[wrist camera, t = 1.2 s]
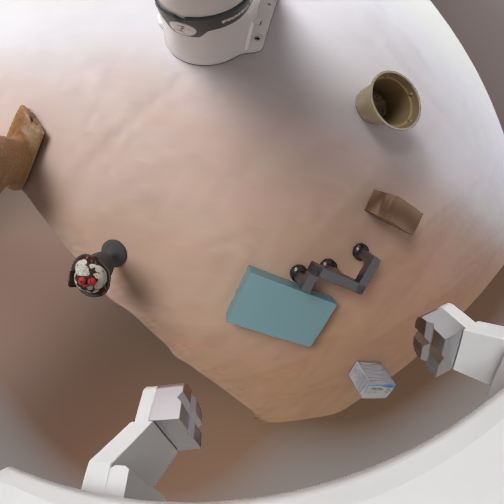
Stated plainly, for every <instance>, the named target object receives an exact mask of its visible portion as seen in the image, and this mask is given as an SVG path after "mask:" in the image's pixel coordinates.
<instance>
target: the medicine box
mask: <svg viewBox="0 0 504 504" xmlns="http://www.w3.org/2000/svg"><path fill="white" fill-rule="evenodd" d="M349 376H350V378H351V380H352V382H353V383H354V385H355V387H356V389H357V391H358V393H359V394H360V396H361V398H386V397H387V396H388V395H389V394H390V392H391V391H392V390H393V388H394V387H395V383H394V381H393V380H392V379H391V377H390V376H389V374H388V373H387V371H386V370H385V368H384V367H383V365H382V364H381V363H371V362H359V361H357V362H356V363H355V365H354V367H353V368H352V370H351V371H350V373H349Z"/></svg>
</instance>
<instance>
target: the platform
mask: <svg viewBox="0 0 504 504" xmlns="http://www.w3.org/2000/svg"><path fill="white" fill-rule="evenodd" d="M336 306H337V303H336V302H335V301H334V299H333V298H332V297H331V296H328V295H326V294H323V293H320V292H318V291H315V290H311V292H310V293H307V292H304V291H301V290H300V288H299V286H298V284H296V283H294V282H291V281H289V280H286V279H283V278H281V277H278V276H275V275H273V274H270V273H268V272H265V271H262V270H260V269H257V268H255V267H252V266H250V265H249V267H248V269H247V271H246V273H245V275H244V277H243V279H242V281H241V283H240V285H239V288H238V290H237V292H236V294H235V296H234V298H233V300H232V302H231V304H230V307H229V309H228V311H227V313H226V314H227V322H228V323H231V324H234V325H238V326H241V327H244V328H247V329H250V330H253V331H256V332H260V333H263V334H266V335H269V336H273V337H276V338H280V339H283V340H286V341H290V342H294V343H297V344H301V345H304V346H308V347H311V345H312V344H313V342H314V341H315V339H316V338H317V336H318V335H319V333H320V332H321V330H322V328H323V327H324V325H325V324H326V322H327V321H328V319H329V317H330V316H331V314H332V312H333V311H334V309H335V308H336Z"/></svg>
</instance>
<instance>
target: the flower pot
mask: <svg viewBox="0 0 504 504" xmlns="http://www.w3.org/2000/svg"><path fill="white" fill-rule="evenodd" d="M373 94H375V95H377V96H378V97H375V96H374V95H373ZM356 108H357V110H358V113H359V115H360V116H361V117H362V118H363V119H364V120H365V121H367V122H369V123H375V124H383V125H387V126H388V127H390V128H392V129H395V130H400V131H403V130H408V129H410V128H412V127H413V126H415V125H416V123H417V122H418V120H419V117H420V114H421V104H420V98H419V95H418V92H417V90H416V88H415V87H414V85H413V84H412V83H411V82H410V81H409V80H408V79H407V78H406V77H405V76H403V75H402V74H400V73H398V72H395V71H384V72H381V73H379V74H378V75H377V76H376V77H375V78H374V79H373V81H372V83H371V84H370V85H369V86H368V87H366V88H365V89H364V90H362V91H361V92H360V93H359V94H358V95H357V97H356ZM381 110H383V114H382V116H381V115H380V113H381Z"/></svg>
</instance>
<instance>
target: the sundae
mask: <svg viewBox="0 0 504 504" xmlns="http://www.w3.org/2000/svg"><path fill="white" fill-rule="evenodd" d="M125 260H126V250H125V247H124V246H123V245H122V244H121V243H120V242H119V241H117V240H108V241H106V242H105V243H104V244H103V246H102V252H98V253H95V254H93V255H89V254H82V255H80V256H78V257H77V258H76V259H75V261H74V263H73V264H72V268H71V271H70V272H69V278H68V282H69V283H68V286H69V287H78V289H79V290H80V291H81V292H82V293H83V294H85V295H87V296H90V297H100V296H103V295H104V294H106V293H107V291H108V289H109V286H110V281H111V274H112V272H113V269H114V267H118V266H121V265H122V264H123V263H124V262H125Z"/></svg>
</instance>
